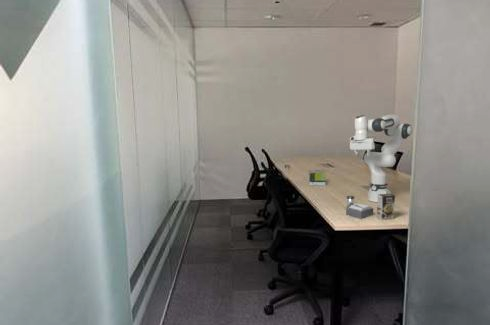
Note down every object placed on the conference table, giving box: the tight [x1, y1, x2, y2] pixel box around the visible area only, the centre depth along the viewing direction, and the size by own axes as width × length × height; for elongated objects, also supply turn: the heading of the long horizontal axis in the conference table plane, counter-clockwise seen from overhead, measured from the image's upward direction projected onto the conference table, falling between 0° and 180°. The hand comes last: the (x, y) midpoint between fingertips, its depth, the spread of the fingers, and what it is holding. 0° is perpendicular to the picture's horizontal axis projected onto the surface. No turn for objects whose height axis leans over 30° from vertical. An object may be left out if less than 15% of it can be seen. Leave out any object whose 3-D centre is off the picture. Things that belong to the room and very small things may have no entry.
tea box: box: [308, 169, 326, 186], centre depth 334 cm, size 15×10×15 cm, turn 84°
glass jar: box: [346, 195, 355, 208], centre depth 246 cm, size 5×5×10 cm
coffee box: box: [376, 193, 396, 221], centre depth 225 cm, size 9×6×16 cm
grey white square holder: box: [345, 203, 374, 220], centre depth 234 cm, size 14×12×6 cm
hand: (362, 155), depth 252 cm, fingers open, 8 cm apart
